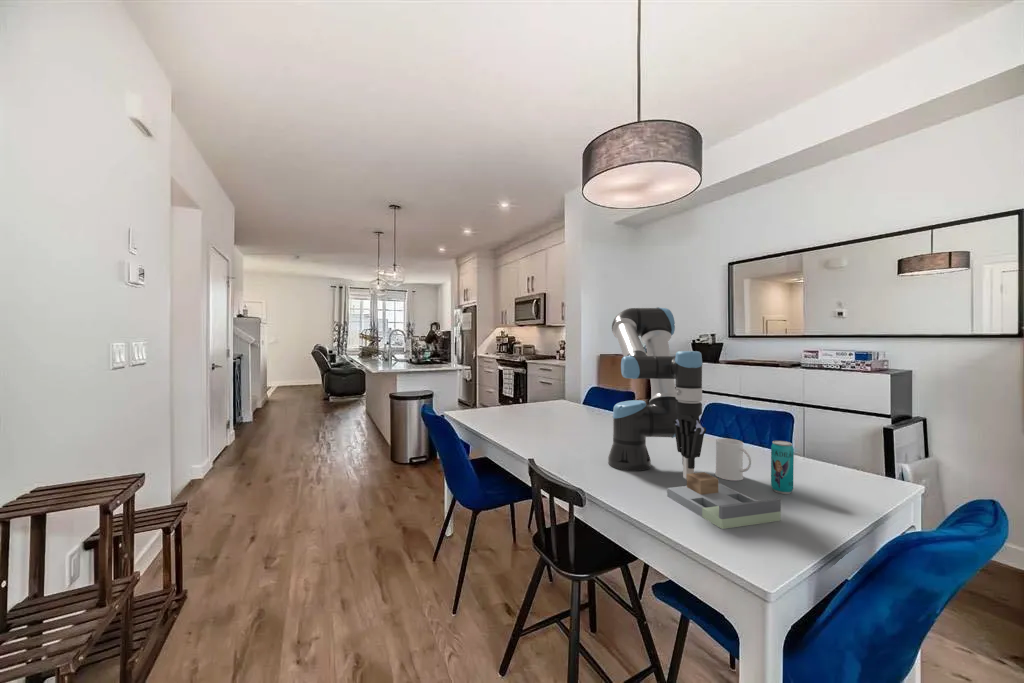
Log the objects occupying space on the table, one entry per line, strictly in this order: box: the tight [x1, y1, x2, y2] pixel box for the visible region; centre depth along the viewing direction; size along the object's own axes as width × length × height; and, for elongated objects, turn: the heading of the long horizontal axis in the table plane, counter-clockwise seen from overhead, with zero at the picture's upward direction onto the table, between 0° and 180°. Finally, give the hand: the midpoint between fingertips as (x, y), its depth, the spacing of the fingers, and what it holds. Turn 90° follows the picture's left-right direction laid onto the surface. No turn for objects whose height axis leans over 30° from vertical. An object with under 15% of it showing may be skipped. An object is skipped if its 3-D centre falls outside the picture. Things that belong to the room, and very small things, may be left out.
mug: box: [714, 437, 752, 482], centre depth 140 cm, size 12×8×12 cm
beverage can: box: [770, 440, 795, 495], centre depth 128 cm, size 6×6×15 cm
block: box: [686, 471, 719, 495], centre depth 123 cm, size 6×6×4 cm
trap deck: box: [666, 482, 782, 530], centre depth 116 cm, size 22×18×5 cm
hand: (688, 477), depth 129 cm, fingers closed
